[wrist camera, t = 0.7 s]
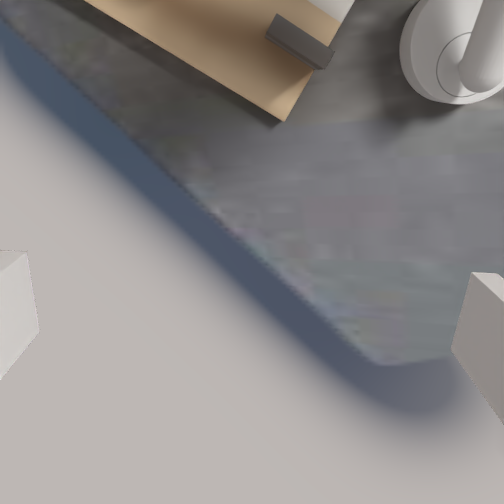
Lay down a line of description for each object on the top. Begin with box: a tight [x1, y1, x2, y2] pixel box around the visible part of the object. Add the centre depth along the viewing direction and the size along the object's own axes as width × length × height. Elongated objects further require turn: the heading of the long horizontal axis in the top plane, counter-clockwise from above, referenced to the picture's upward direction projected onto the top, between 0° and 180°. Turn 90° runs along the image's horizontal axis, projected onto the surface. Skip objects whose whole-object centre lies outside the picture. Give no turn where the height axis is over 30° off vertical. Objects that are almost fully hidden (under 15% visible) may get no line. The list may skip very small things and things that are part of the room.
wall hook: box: [399, 0, 504, 105], centre depth 29 cm, size 9×10×10 cm
